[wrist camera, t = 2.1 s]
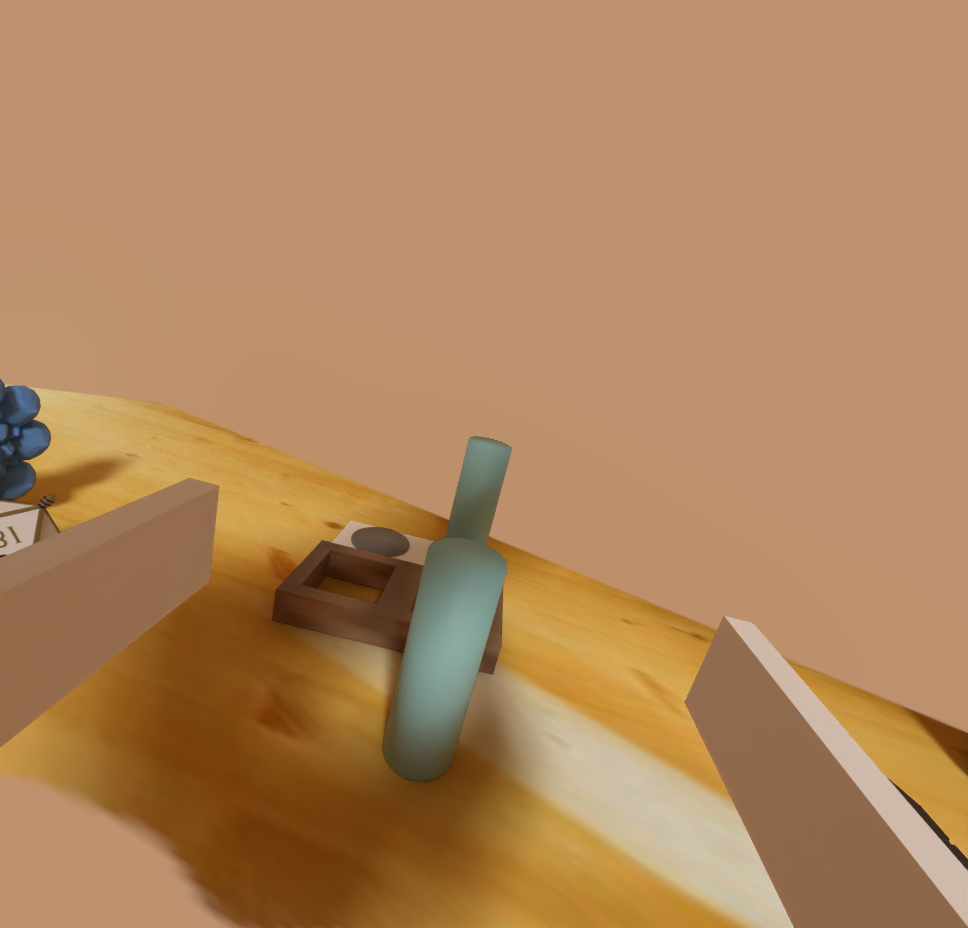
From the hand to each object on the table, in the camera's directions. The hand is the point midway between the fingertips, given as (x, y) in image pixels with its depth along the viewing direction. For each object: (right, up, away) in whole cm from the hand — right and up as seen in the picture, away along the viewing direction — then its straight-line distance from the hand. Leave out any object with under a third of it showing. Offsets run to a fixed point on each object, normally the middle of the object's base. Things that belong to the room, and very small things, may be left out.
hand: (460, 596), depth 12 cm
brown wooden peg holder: (-6, -9, +24) cm, 26 cm away
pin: (-2, -6, +33) cm, 33 cm away
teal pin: (-3, -12, +14) cm, 19 cm away
